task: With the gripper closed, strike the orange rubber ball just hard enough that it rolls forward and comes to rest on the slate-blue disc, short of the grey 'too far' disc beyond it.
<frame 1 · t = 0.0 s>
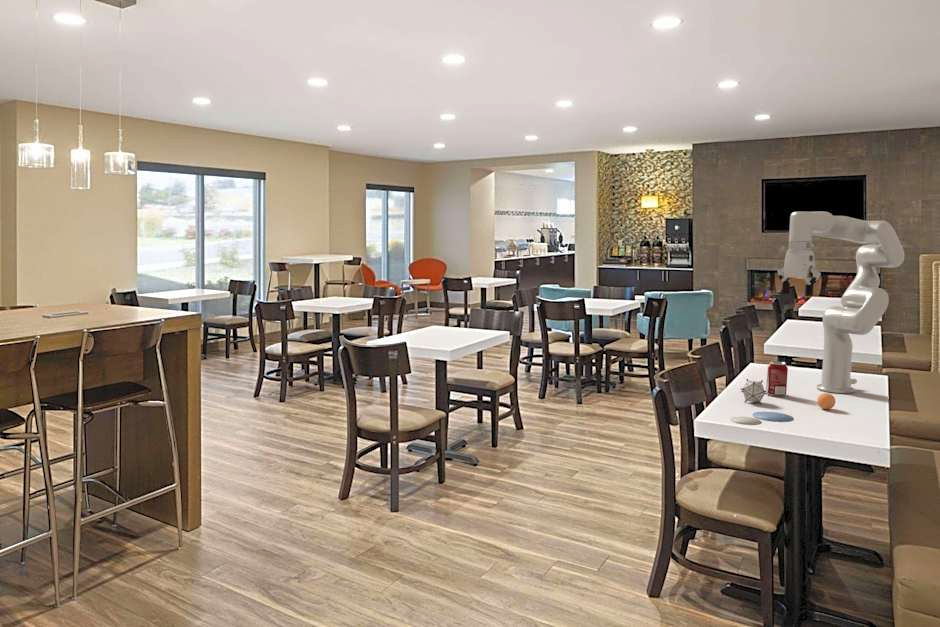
hand: (797, 294, 257), 37 cm above the table, tool pointing down, fingers open, 9 cm apart
far disc: (745, 420, 225), on the table
soda can: (775, 395, 262), on the table
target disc: (772, 416, 230), on the table
game die: (753, 403, 250), on the table
ball: (826, 401, 241), on the table
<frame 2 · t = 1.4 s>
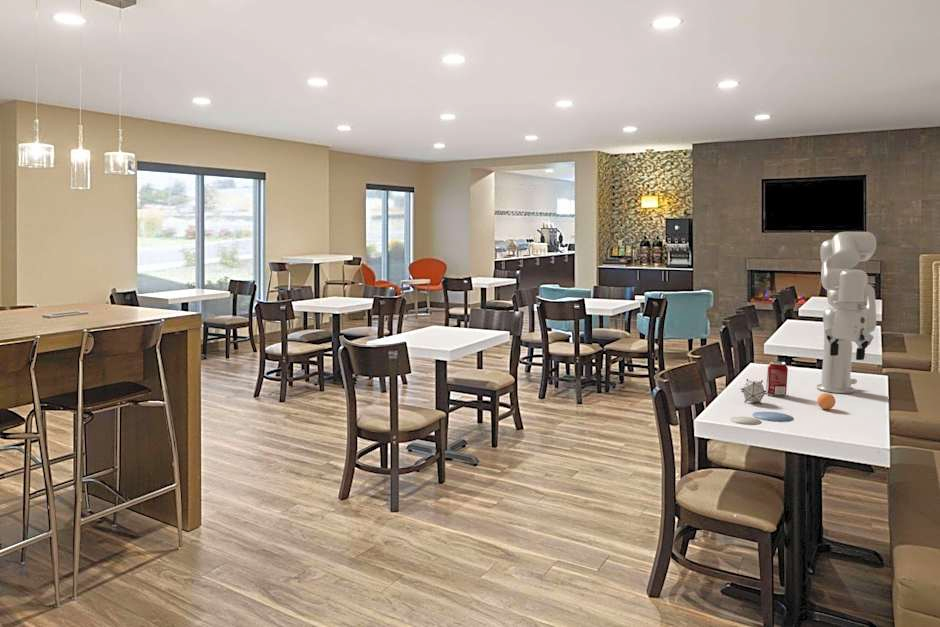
hand: (846, 357, 244), 17 cm above the table, tool pointing down, fingers open, 9 cm apart
nothing on the table moved.
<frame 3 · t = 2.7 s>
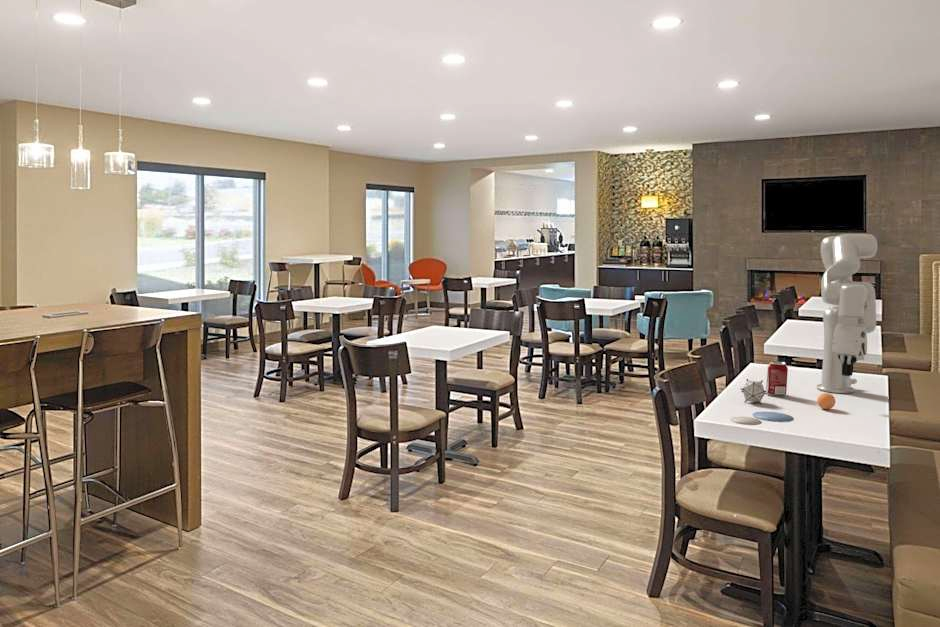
hand: (847, 375, 244), 11 cm above the table, tool pointing down, fingers closed
nothing on the table moved.
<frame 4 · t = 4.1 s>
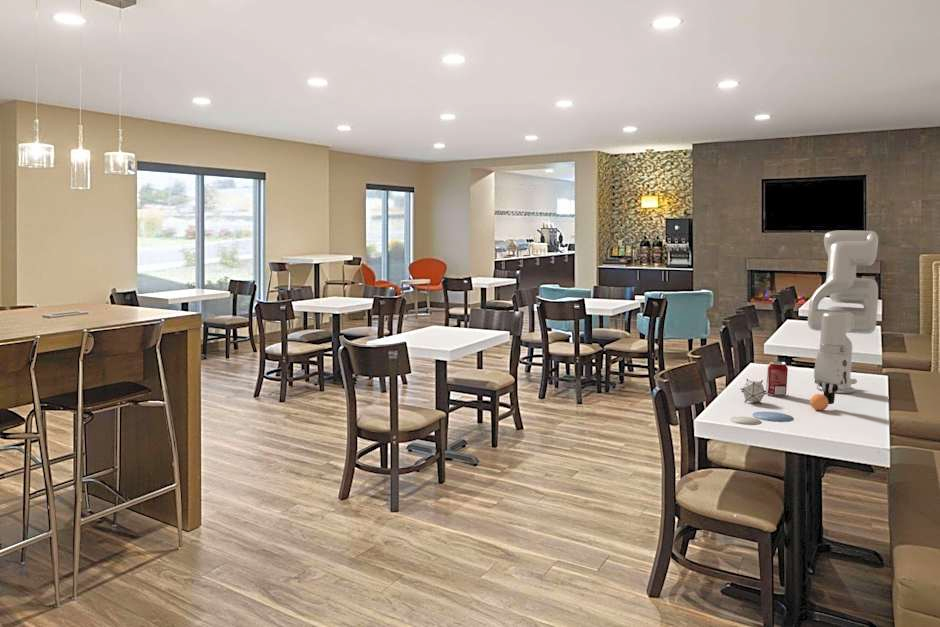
hand: (828, 403, 241), 2 cm above the table, tool pointing down, fingers closed
ball: (819, 402, 240), on the table
everything else where it was.
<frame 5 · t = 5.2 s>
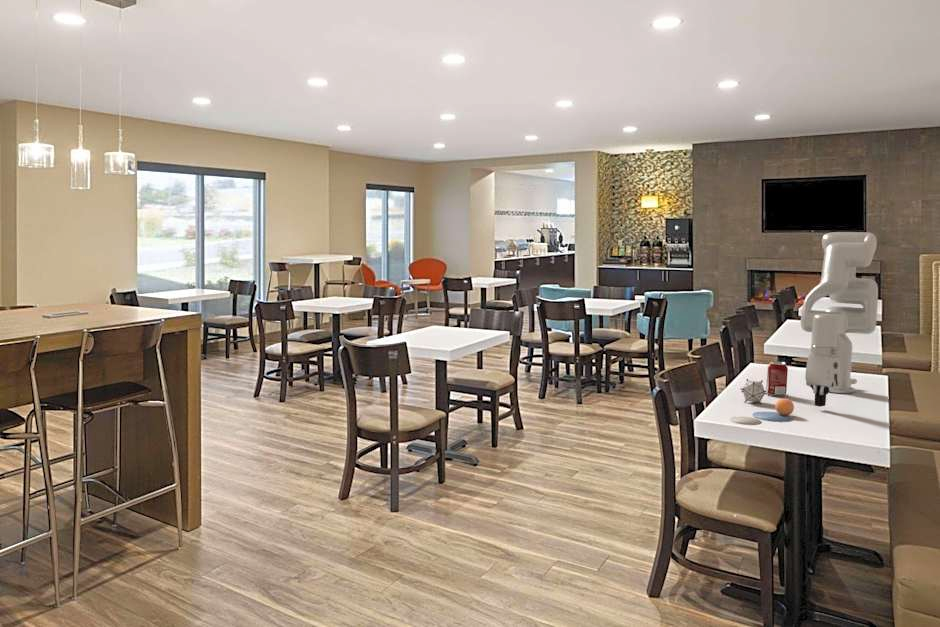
hand: (819, 405, 240), 2 cm above the table, tool pointing down, fingers closed
ball: (784, 407, 232), on the table
everything else where it was.
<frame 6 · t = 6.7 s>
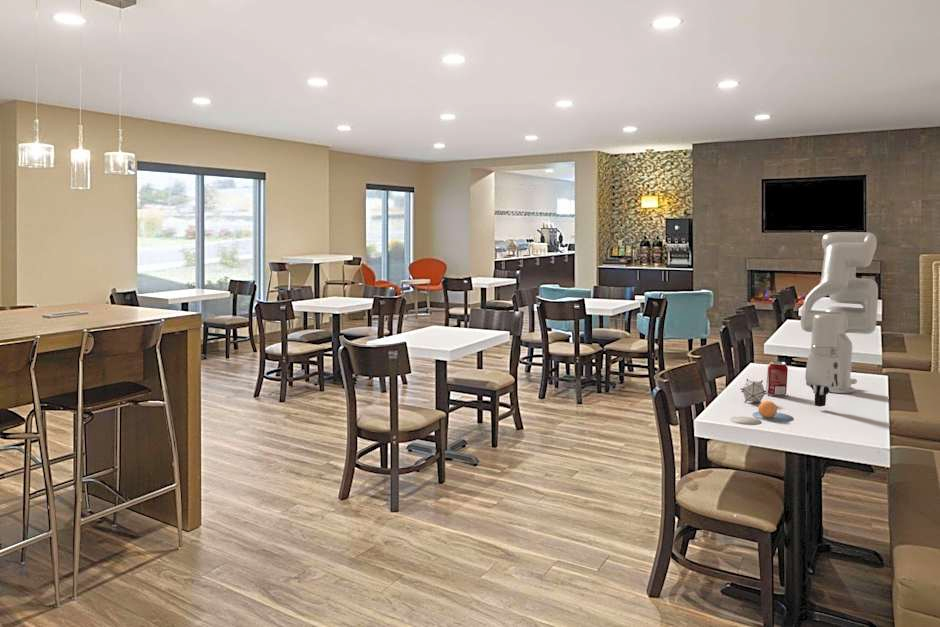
hand: (819, 405, 240), 2 cm above the table, tool pointing down, fingers closed
ball: (767, 409, 228), on the table
everything else where it was.
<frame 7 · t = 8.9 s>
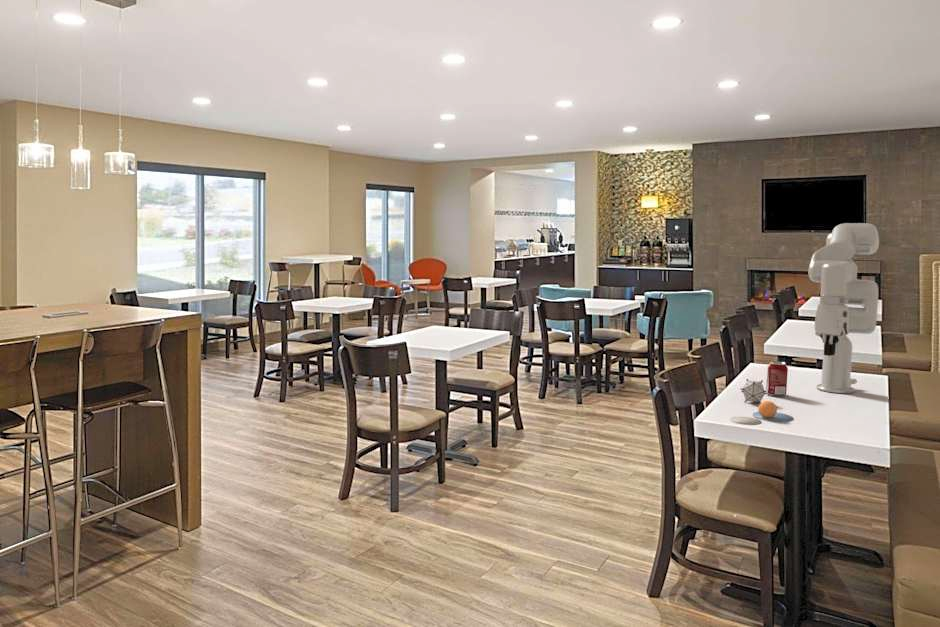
hand: (829, 354, 240), 18 cm above the table, tool pointing down, fingers closed
nothing on the table moved.
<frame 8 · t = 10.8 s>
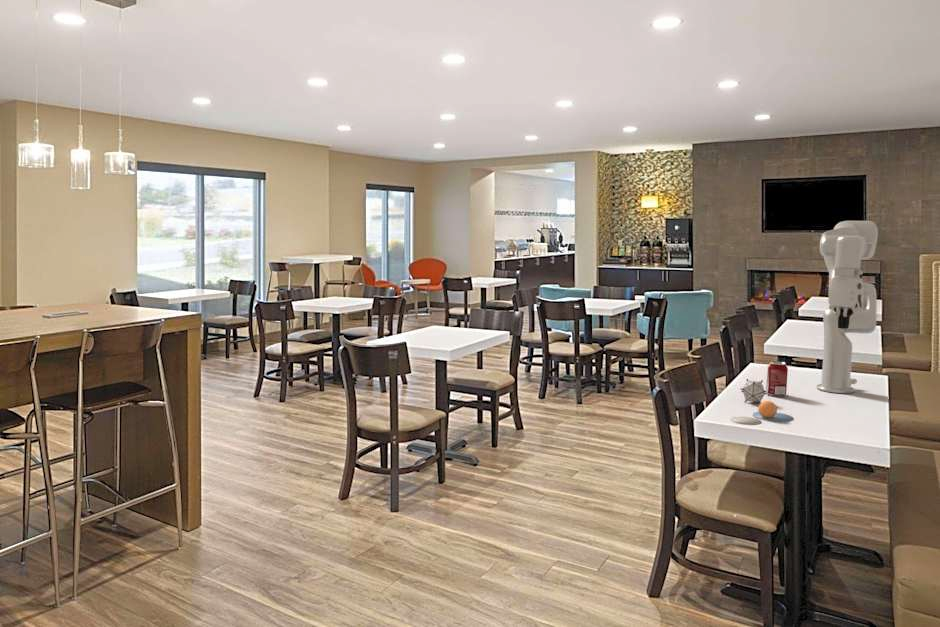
hand: (843, 328, 241), 27 cm above the table, tool pointing down, fingers closed
nothing on the table moved.
at the end: ball 2.9 cm from the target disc (horizontally); ball at rest at the end (0.0 cm/s); ball moved 27.9 cm from its start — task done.
